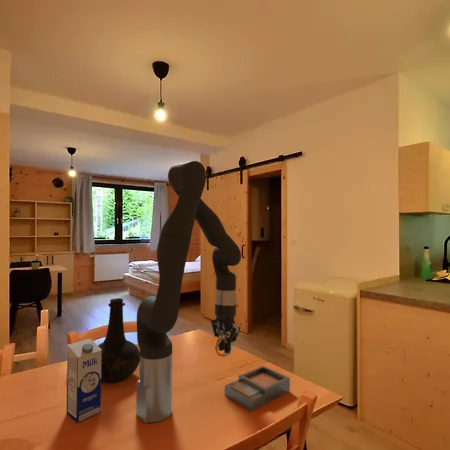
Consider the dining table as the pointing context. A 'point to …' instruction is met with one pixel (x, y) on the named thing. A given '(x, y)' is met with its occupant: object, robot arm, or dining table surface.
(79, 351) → the milk carton
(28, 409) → the dining table surface
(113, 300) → the glass bottle
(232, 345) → the ring
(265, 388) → the grey tray
